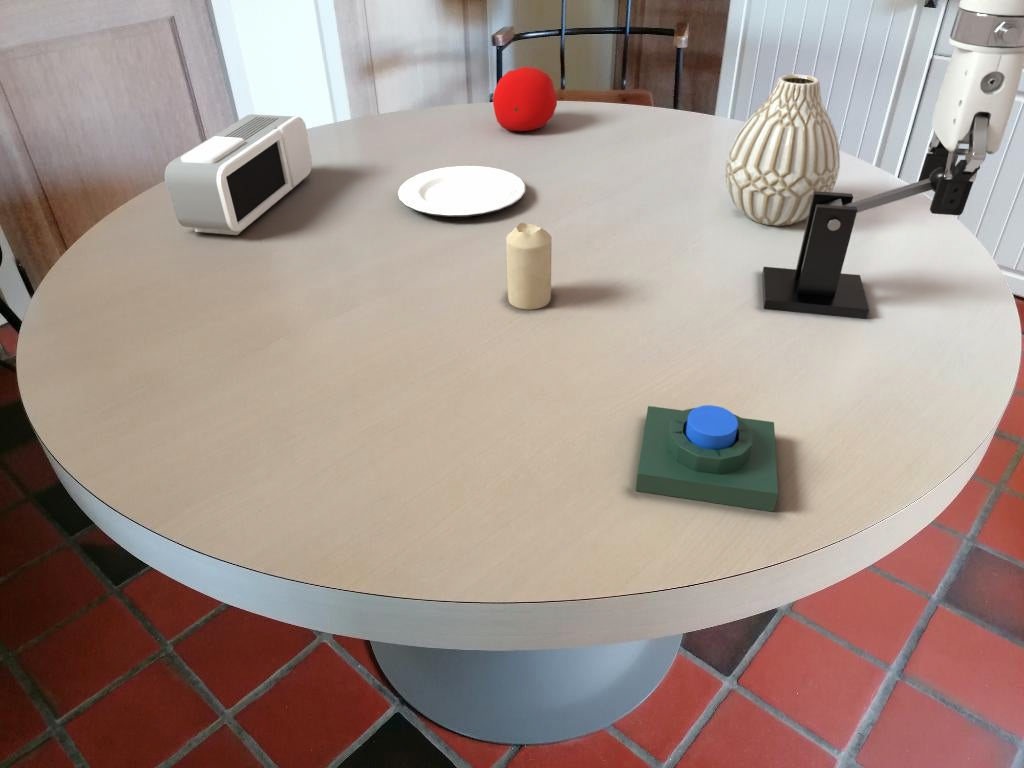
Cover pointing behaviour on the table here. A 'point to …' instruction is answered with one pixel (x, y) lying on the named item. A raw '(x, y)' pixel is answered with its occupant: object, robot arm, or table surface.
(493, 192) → the plate
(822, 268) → the switch bracket
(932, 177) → the lever
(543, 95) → the tomato
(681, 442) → the switch box
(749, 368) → the table surface
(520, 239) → the candle
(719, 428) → the button
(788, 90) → the vase
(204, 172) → the alarm clock
